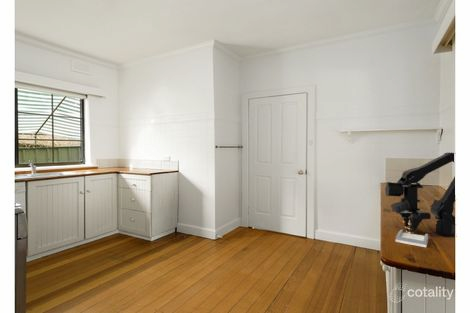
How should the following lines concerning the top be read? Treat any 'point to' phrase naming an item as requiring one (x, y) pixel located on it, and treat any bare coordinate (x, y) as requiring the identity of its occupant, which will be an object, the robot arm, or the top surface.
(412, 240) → the tray
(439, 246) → the top surface
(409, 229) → the figurine
